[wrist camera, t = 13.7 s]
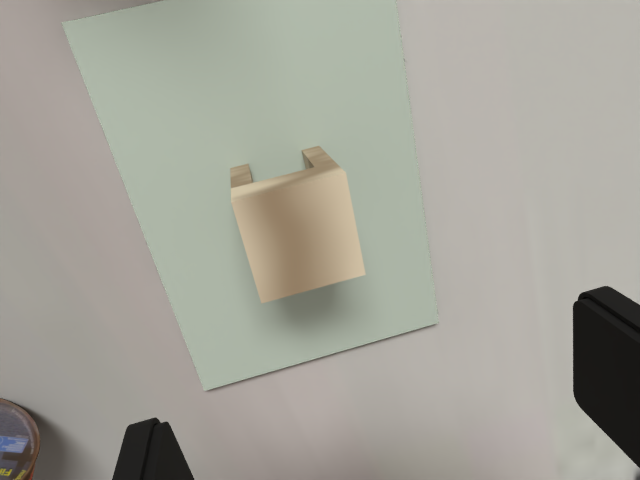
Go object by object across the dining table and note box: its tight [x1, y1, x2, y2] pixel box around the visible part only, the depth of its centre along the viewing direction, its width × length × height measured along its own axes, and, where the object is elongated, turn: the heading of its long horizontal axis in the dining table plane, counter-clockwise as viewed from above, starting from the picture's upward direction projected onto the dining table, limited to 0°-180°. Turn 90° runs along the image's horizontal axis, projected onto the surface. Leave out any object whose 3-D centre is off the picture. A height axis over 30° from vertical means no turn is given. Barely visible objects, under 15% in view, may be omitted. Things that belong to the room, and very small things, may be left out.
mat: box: [62, 0, 439, 391], centre depth 27 cm, size 16×22×1 cm
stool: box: [230, 146, 366, 304], centre depth 24 cm, size 5×5×6 cm
